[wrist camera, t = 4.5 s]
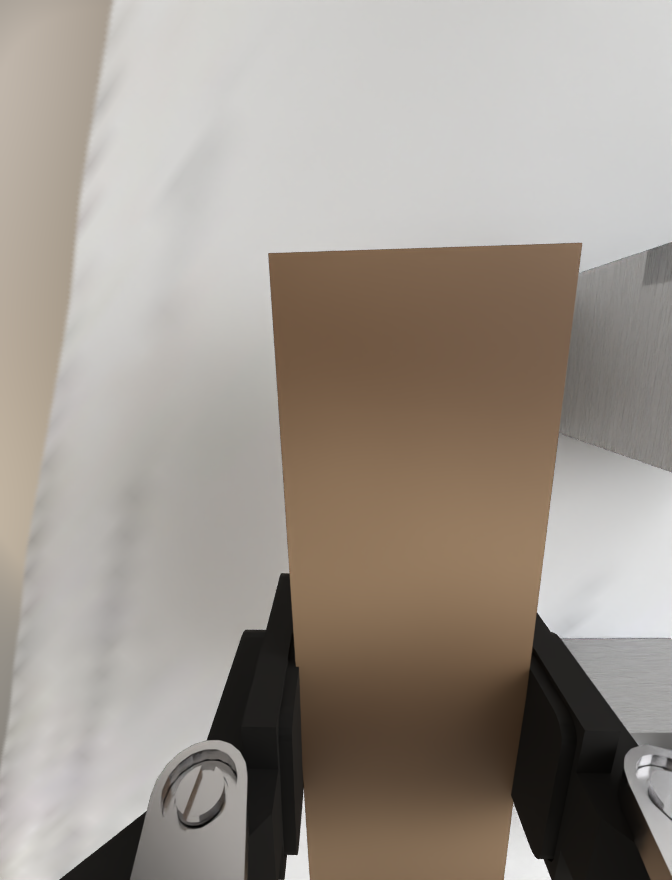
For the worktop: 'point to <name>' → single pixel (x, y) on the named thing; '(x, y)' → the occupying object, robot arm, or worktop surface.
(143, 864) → the robot arm
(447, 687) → the walnut rail
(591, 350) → the brackets
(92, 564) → the worktop surface
